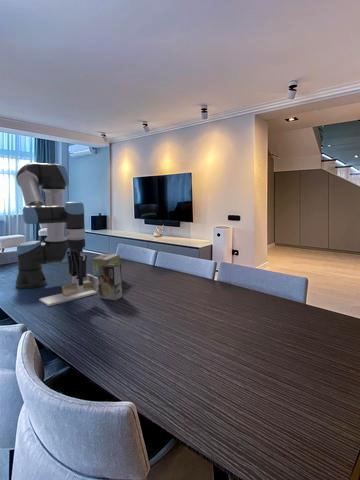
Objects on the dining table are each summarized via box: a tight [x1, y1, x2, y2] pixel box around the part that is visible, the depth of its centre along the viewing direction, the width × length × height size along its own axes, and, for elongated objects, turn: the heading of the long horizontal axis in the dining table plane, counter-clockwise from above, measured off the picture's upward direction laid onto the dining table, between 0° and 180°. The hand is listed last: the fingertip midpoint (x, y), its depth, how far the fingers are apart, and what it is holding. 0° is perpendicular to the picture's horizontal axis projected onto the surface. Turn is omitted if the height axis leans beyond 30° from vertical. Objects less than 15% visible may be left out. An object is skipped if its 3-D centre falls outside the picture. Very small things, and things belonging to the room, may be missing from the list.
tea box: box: [91, 253, 121, 286], centre depth 170 cm, size 15×10×15 cm, turn 168°
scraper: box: [61, 273, 100, 297], centre depth 133 cm, size 8×14×6 cm, turn 136°
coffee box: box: [98, 263, 123, 301], centre depth 144 cm, size 9×6×16 cm
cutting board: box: [38, 290, 98, 307], centre depth 145 cm, size 10×24×1 cm, turn 136°
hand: (78, 291), depth 133 cm, fingers closed on scraper, 3 cm apart
